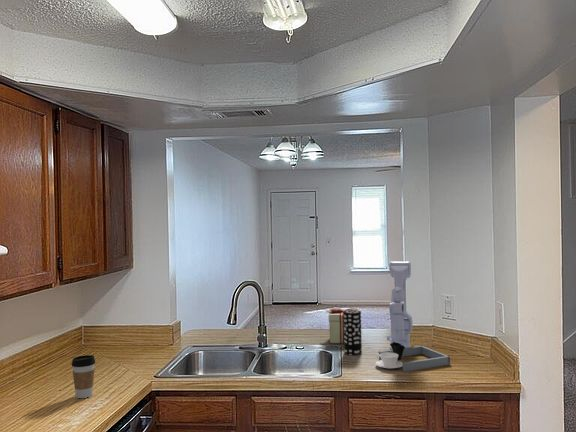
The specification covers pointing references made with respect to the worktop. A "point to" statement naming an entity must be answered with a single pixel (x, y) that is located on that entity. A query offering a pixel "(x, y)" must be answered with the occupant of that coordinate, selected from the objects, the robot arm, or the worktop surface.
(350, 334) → the spotted tube
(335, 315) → the gift box
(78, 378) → the coffee cup
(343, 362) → the worktop surface
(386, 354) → the teacup
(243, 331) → the worktop surface
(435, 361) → the cubby
